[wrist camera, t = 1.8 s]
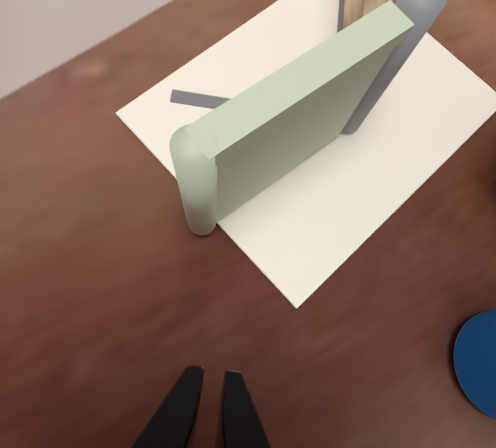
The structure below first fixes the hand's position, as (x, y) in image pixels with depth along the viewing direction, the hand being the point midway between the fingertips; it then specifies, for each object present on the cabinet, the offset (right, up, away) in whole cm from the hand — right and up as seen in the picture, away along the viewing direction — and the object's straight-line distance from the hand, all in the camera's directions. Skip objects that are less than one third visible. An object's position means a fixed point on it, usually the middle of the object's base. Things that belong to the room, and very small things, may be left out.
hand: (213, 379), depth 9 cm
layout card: (+6, +12, +18) cm, 23 cm away
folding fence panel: (+3, +8, +16) cm, 18 cm away
